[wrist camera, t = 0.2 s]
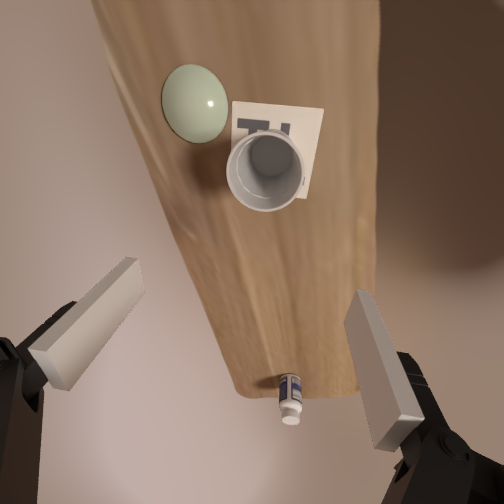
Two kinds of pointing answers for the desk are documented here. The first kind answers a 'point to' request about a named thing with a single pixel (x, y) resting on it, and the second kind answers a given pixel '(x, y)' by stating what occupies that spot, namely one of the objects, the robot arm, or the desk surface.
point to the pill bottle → (290, 398)
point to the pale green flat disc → (195, 103)
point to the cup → (265, 170)
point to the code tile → (280, 128)
